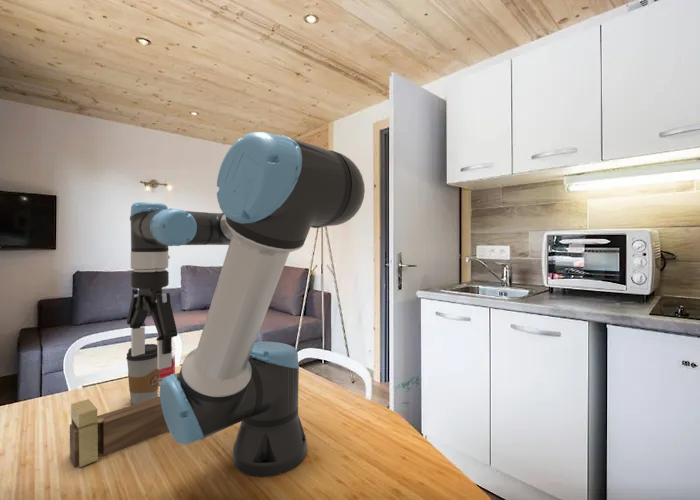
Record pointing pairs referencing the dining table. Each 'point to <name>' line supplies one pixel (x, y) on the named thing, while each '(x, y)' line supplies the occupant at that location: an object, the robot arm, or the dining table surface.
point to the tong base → (74, 430)
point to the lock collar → (86, 430)
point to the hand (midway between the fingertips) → (150, 360)
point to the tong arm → (132, 427)
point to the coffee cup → (143, 374)
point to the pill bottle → (167, 370)
